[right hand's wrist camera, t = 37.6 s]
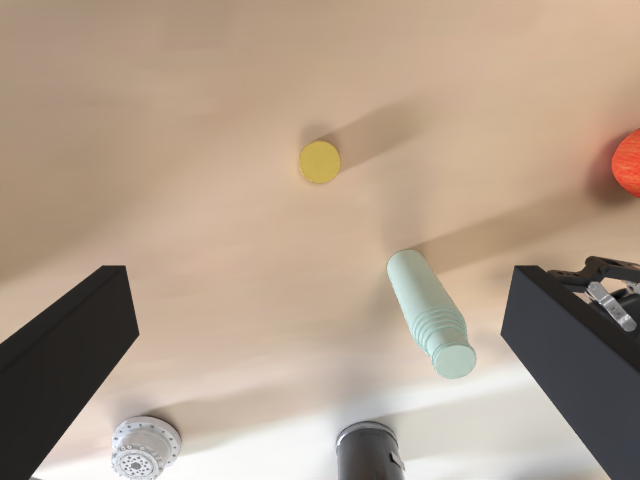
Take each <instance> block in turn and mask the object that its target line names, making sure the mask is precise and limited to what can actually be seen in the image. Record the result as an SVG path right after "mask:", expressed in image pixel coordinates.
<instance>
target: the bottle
mask: <svg viewBox="0 0 640 480" xmlns="http://www.w3.org/2000/svg"><path fill="white" fill-rule="evenodd" d="M387 272H388V275H389V278H390V280H391V283H392V285H393V288H394V291H395V293H396V296H397V298H398V301H399V303H400V306H401V309H402V311H403V314H404V316H405V319H406V322H407V324H408V327H409V329H410V332H411V334H412V337H413V339H414V341H415V342H416V344H417V345H418V346H419V347H420V348H421V349H422V350H423V351H424V352H425V353H426V354H427V355H428V356H429V357H431V359H432V364H433V366H434V369H435V371H436V372H437V373H438V374H439V375H441V376H442V377H445V378H448V379H455V378H460V377H463V376H465V375H467V374H468V373H470V372H471V371H472V370H473V368H474V366H475V364H476V354H475V351H474V349H473V348H472V347H471V346H470V345H469V343H468V338H467V329H466V323H465V321H464V318H463V316H462V314H461V313H460V311H459V310H458V308H457V307H456V305H455V304H454V302H453V301H452V299H451V297H450V296H449V294H448V293H447V291H446V290H445V288H444V287H443V285H442V284H441V282H440V281H439V279H438V278H437V276H436V275H435V273H434V272H433V270H432V269H431V267H430V265H429V264H428V262H427V261H426V259H425V258H424V256H423V255H422V254H421V253H419V252H418V251H415V250H411V249H406V250H402V251H399V252H397V253H396V254H394V255H393V256H392V257H391V259H390V260H389V262H388V265H387Z"/></svg>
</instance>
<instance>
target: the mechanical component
mask: <svg viewBox="0 0 640 480" xmlns="http://www.w3.org/2000/svg"><path fill="white" fill-rule="evenodd" d="M112 448H113V450H114V451H113V453H112V456H111V461H112V466H111V467H112V468H114V469H115V470H114V472H116V473H117V472H118V473H119V474H118V476H124V477H126V478H129V479H130V480H152V479H153V480H156V478H157V477H158V476H159V475H160V474H161V473H162V472H163V470H164V468H166V467H169V466H171V465H172V464H173V463H174V462H175V461H176V459H177V457H178V454H179V452H180V449H181V439H180V437H179V435H178V433H177V432H176V430H175V429H174V428H173V427H172V426H170V425H169V424H168V423H166V422H164V421H162V420H160V419H156V418H153V417H146V416H142V417H134V418H130V419H127V420H126V421H124V422H123V423H121V424H120V426H119V427H118V428H117V430H116V431H115V433H114V434H113V437H112Z"/></svg>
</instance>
